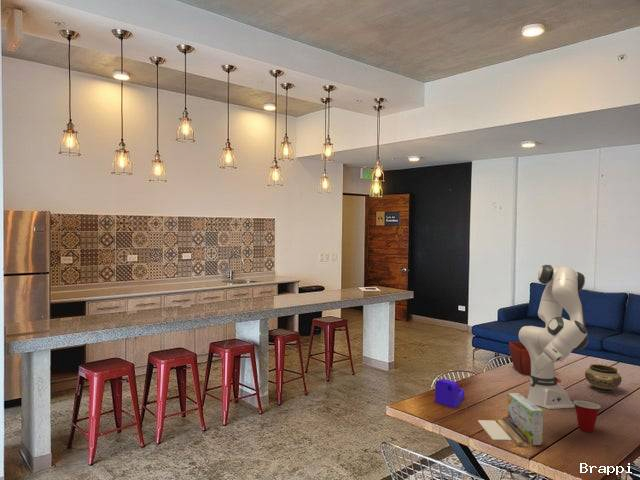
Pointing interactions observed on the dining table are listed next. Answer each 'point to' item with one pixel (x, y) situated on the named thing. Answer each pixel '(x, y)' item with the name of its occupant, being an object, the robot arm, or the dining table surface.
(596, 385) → the ceramic bowl
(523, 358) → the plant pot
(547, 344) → the robot arm
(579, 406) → the plastic cup
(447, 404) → the bracket
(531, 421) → the snack box
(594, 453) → the dining table surface
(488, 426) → the mat
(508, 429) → the tear bar
